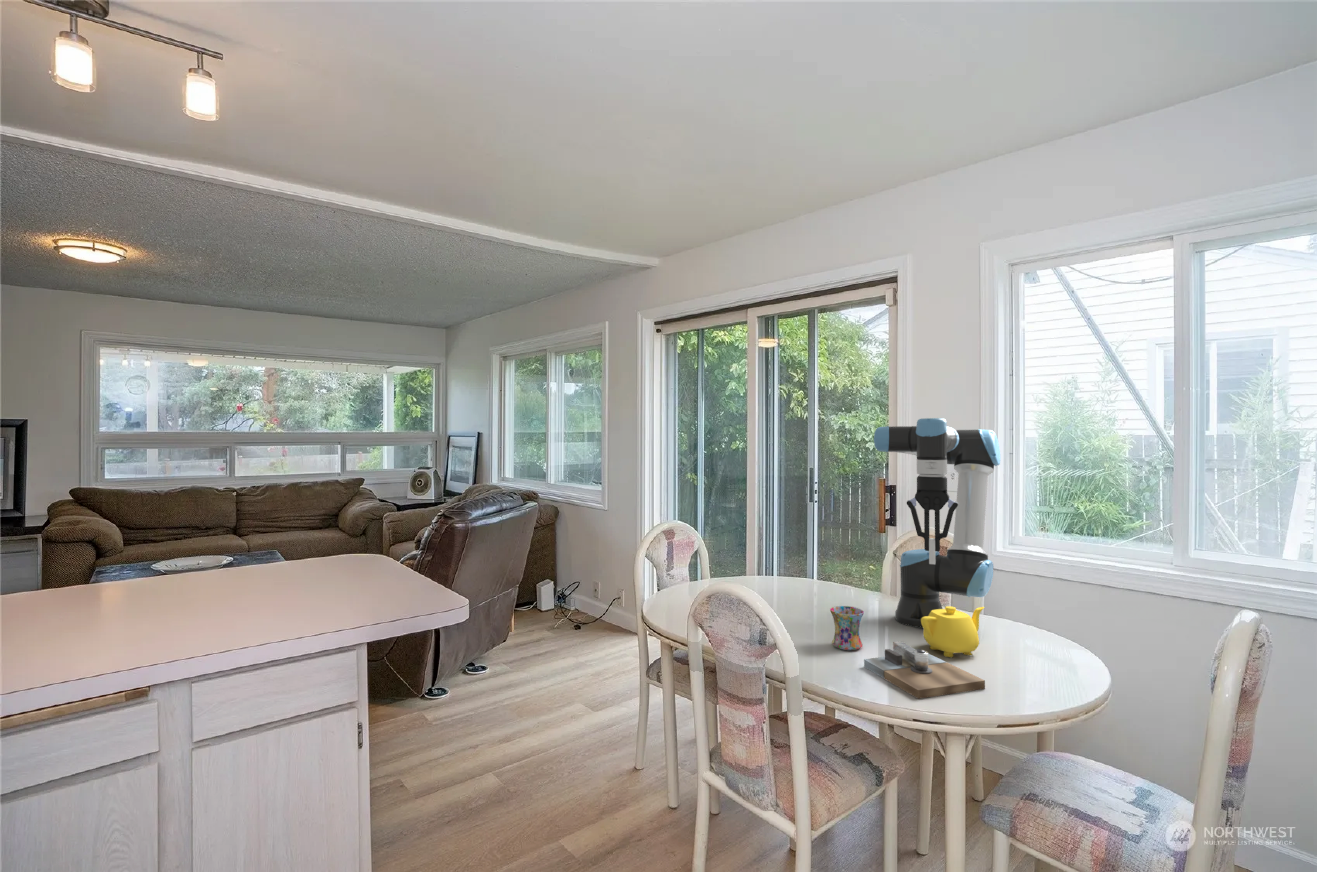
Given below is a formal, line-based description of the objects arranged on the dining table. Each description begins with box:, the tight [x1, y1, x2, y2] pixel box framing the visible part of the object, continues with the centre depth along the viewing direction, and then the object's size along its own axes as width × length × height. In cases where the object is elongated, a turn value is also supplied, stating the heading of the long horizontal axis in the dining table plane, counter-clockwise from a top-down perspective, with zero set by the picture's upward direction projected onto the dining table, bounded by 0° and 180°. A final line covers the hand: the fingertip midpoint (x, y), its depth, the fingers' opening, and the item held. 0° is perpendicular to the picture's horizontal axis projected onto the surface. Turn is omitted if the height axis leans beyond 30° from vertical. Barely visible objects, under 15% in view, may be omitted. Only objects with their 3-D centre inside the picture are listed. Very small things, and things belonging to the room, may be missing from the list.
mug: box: [829, 605, 865, 651], centre depth 183 cm, size 12×9×11 cm
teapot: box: [921, 605, 985, 658], centre depth 178 cm, size 13×20×12 cm
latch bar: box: [892, 641, 929, 670], centre depth 163 cm, size 13×3×4 cm, turn 10°
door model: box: [863, 648, 986, 700], centre depth 159 cm, size 19×21×4 cm
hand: (932, 563), depth 170 cm, fingers closed
